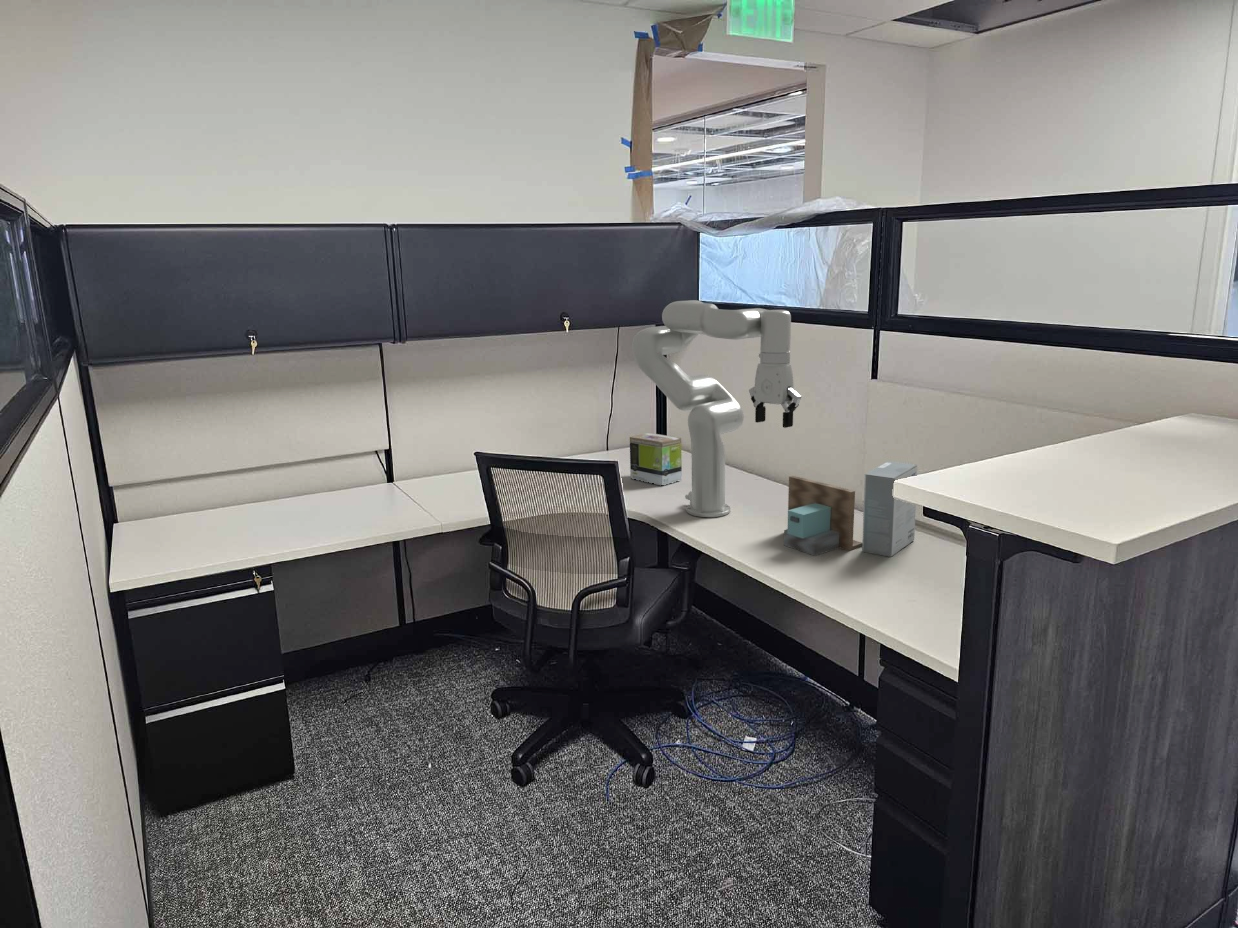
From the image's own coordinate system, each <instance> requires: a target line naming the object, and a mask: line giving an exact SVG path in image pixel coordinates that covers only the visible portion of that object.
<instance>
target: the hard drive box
mask: <svg viewBox="0 0 1238 928" xmlns="http://www.w3.org/2000/svg"><path fill="white" fill-rule="evenodd" d="M910 476H917V477H918V465H917V464H913V463H906V462H901V461H900V462H898V461H892V460H889V461H887V462H884V463H883V464H881V465H879V466H877V467H875V468H874V469H872V470H870V471H868V472H867V473H865V474H864V487H863V488H864V491H863V492H864V493H863V513H862V514H863V515H862V516H863V518H862V519H863V522H862V541H861V542H862V546H861V551H862V552H864V553H868V554H874V555H878V556H883V557H888V558H890V557H891V558H892V557H893V556H895V555H896V554H898V552H900V551H901V550H903V548H905V547H907V546H908V545H910V544H911V543H912V542H914V541H915V534H916V533H915V532H916V510H917V509H916V508H917V507H916V506H917V504H916V505H912V504H910V503H906V502H902V501H900V500H896V499H894V498H893V496H892V489H893V483H894V481H895V480H898V479H901V478H907V477H910Z"/></svg>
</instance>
